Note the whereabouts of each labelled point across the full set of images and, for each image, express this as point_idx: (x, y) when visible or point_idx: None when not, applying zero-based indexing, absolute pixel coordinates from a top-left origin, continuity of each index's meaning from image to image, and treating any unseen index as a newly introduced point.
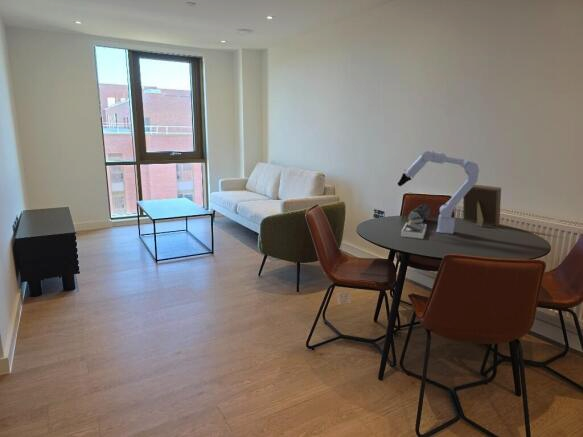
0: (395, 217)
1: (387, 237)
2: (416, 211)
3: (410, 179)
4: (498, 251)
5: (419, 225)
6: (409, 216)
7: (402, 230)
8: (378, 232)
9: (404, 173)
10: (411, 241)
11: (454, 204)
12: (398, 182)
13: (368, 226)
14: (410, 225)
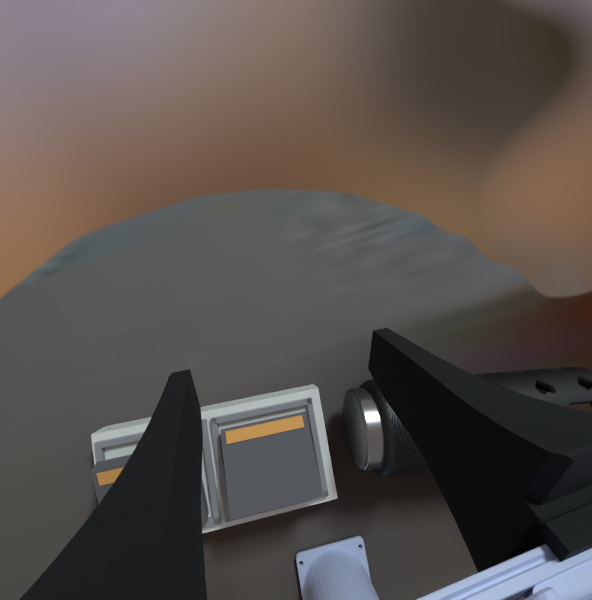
0: (483, 273)
1: (44, 377)
2: (385, 446)
3: (474, 554)
4: None
5: (201, 510)
6: (354, 399)
7: (113, 434)
8: (121, 305)
9: (564, 458)
10: (29, 507)
11: None
12: (161, 397)
13: (216, 223)
14: (109, 488)
